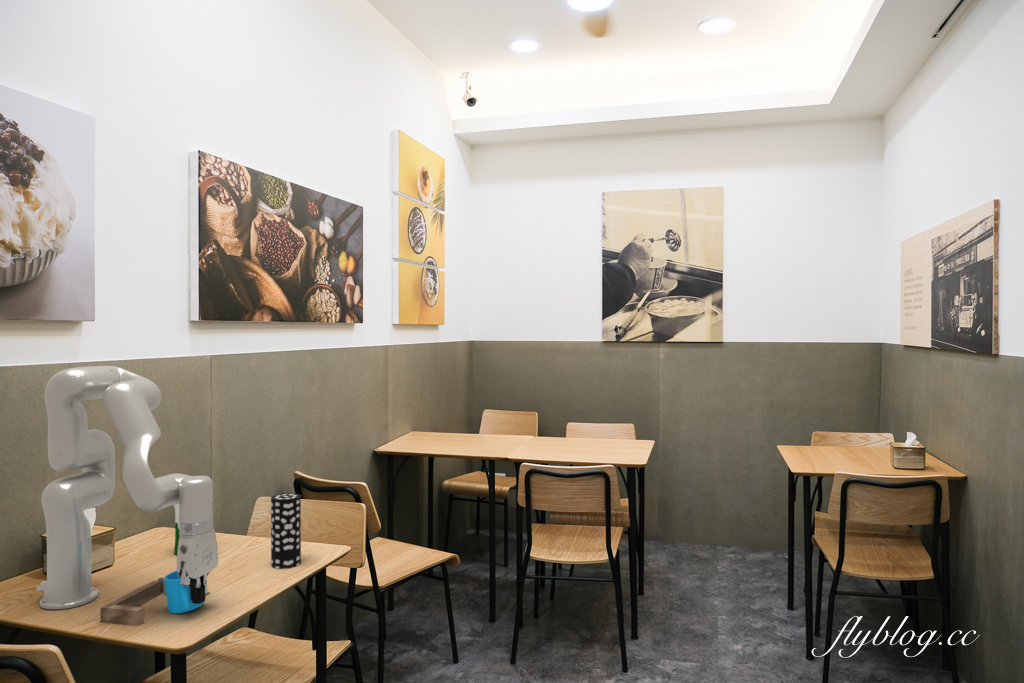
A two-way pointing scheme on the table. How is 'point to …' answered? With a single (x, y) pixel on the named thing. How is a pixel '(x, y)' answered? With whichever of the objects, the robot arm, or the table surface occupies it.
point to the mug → (178, 595)
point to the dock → (132, 605)
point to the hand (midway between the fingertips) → (197, 602)
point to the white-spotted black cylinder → (285, 530)
